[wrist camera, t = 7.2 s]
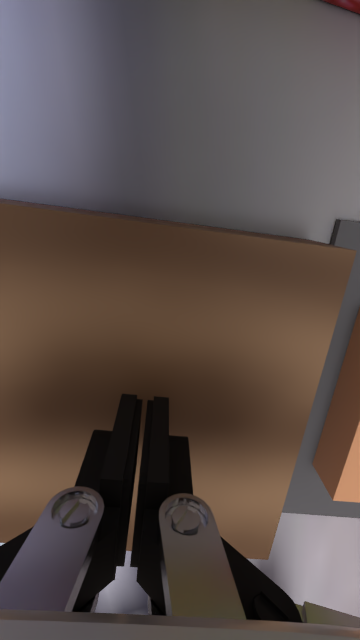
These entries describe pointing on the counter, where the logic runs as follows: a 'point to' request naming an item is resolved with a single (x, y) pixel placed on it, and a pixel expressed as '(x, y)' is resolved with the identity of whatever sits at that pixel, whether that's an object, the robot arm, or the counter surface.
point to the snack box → (346, 4)
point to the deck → (160, 354)
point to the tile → (343, 430)
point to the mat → (327, 397)
